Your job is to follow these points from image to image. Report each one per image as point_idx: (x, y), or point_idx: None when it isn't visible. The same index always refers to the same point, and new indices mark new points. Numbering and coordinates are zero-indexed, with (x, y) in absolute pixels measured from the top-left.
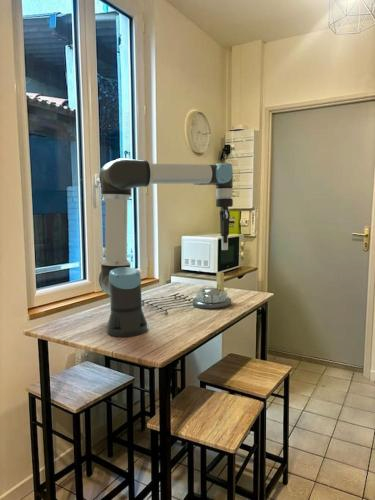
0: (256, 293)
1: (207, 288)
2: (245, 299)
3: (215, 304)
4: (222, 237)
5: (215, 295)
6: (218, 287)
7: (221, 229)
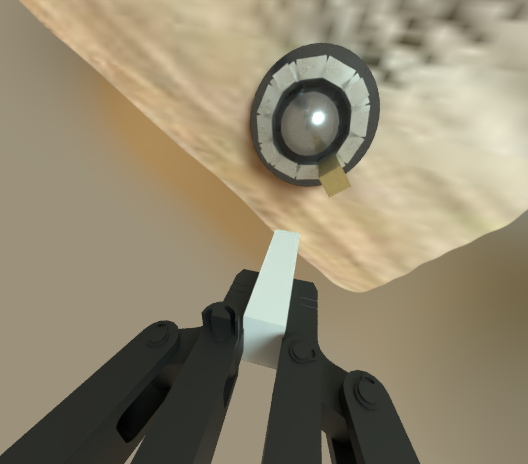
0: (373, 274)
1: (330, 111)
2: (327, 229)
3: (255, 123)
4: (250, 304)
5: (268, 129)
6: (327, 159)
7: (311, 453)
